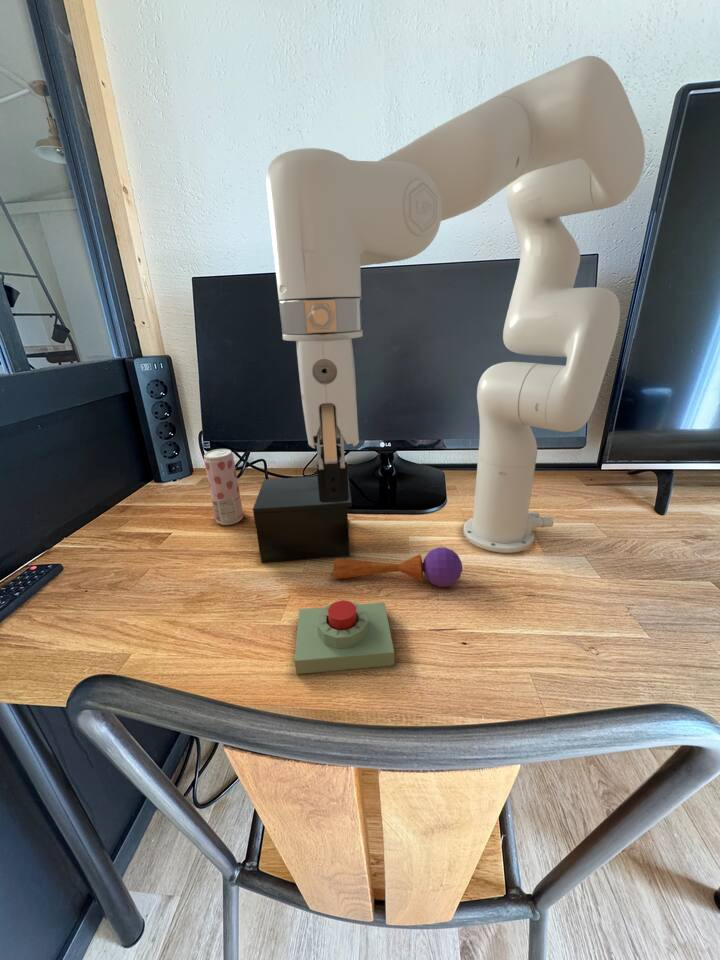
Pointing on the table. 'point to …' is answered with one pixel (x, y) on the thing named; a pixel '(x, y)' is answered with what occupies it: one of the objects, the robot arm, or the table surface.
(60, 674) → the table surface
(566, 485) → the table surface
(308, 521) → the black box
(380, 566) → the kendama
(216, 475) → the beverage can
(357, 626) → the control block
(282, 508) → the lid
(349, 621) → the button
